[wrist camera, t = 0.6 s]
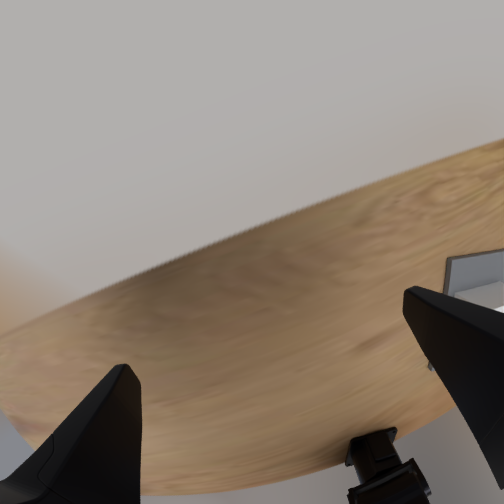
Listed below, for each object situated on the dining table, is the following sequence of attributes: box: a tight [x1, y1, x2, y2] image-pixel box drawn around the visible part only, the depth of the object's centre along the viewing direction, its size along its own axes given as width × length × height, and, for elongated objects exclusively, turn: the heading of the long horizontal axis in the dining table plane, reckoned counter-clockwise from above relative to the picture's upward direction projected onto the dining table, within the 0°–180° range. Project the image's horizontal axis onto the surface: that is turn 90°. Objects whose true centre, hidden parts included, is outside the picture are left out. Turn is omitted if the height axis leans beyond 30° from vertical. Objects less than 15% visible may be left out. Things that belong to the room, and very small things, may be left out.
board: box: [428, 249, 504, 371], centre depth 24 cm, size 13×17×1 cm
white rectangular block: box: [454, 281, 504, 313], centre depth 21 cm, size 6×8×5 cm
